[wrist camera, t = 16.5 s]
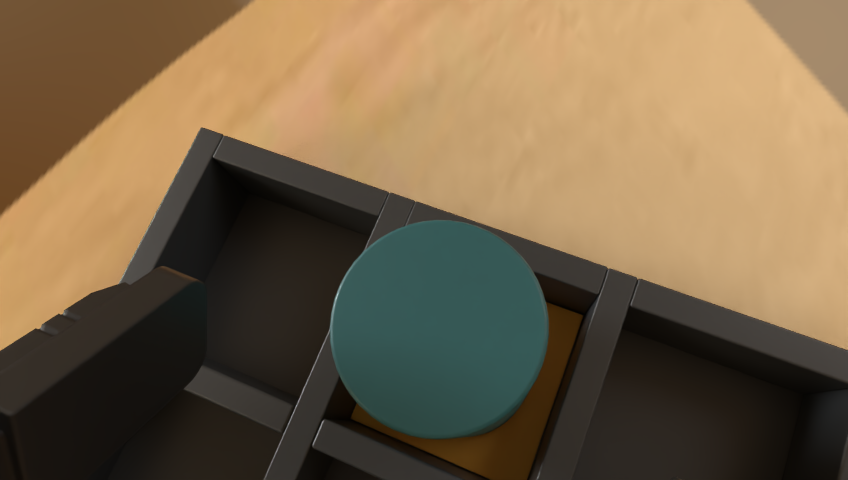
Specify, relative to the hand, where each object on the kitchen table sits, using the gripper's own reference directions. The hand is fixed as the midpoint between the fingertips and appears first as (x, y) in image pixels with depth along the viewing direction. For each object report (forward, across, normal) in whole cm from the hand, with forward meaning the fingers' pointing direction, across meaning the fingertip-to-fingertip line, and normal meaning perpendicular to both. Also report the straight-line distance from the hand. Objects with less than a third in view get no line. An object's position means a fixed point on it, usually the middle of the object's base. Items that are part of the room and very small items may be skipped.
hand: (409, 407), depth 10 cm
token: (+7, 0, +5) cm, 9 cm away
